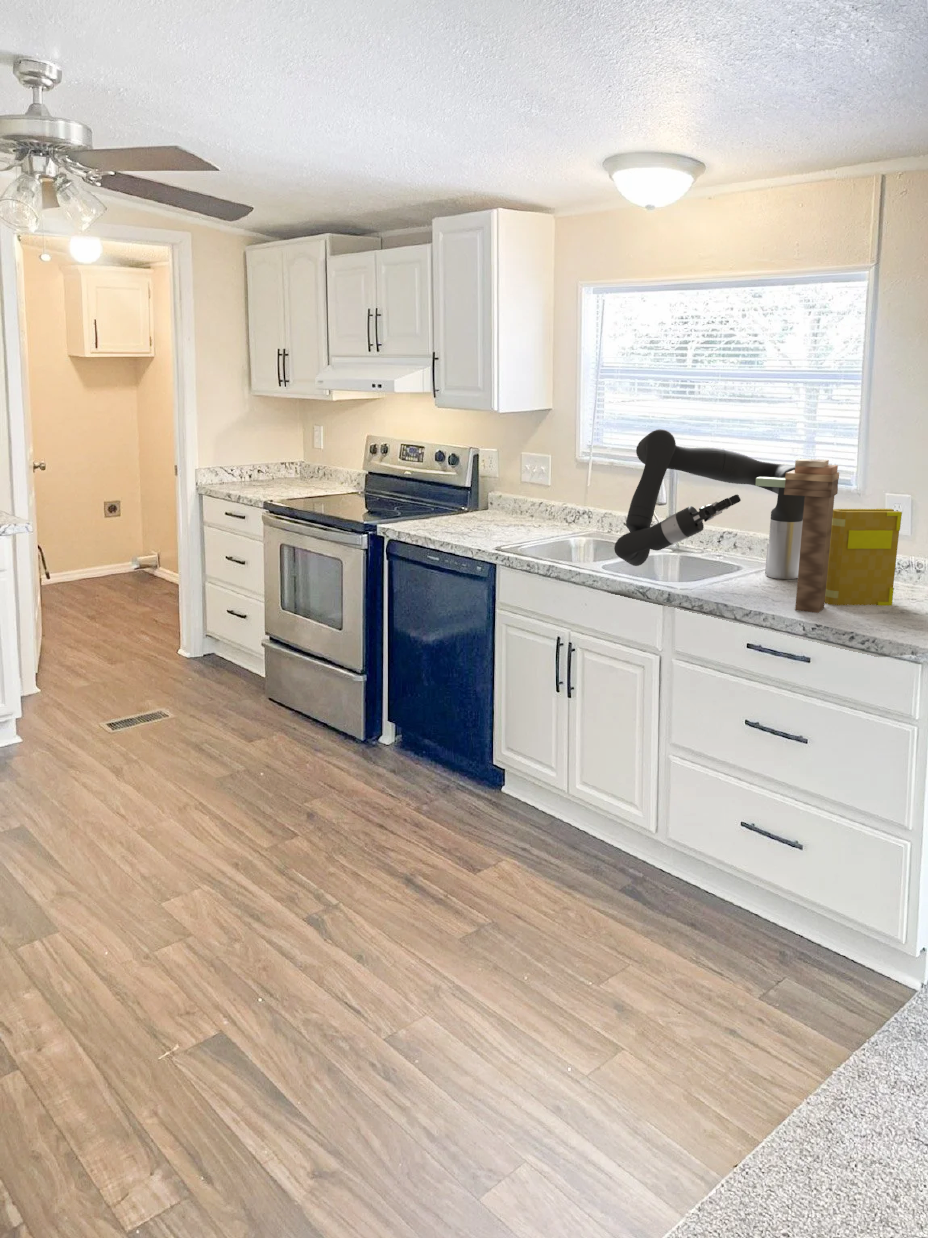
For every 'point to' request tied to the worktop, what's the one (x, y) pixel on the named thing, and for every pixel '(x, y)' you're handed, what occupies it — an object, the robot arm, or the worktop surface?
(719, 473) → the robot arm
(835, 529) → the book
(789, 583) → the worktop surface
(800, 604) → the tall brown wooden column
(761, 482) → the block
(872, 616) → the worktop surface
